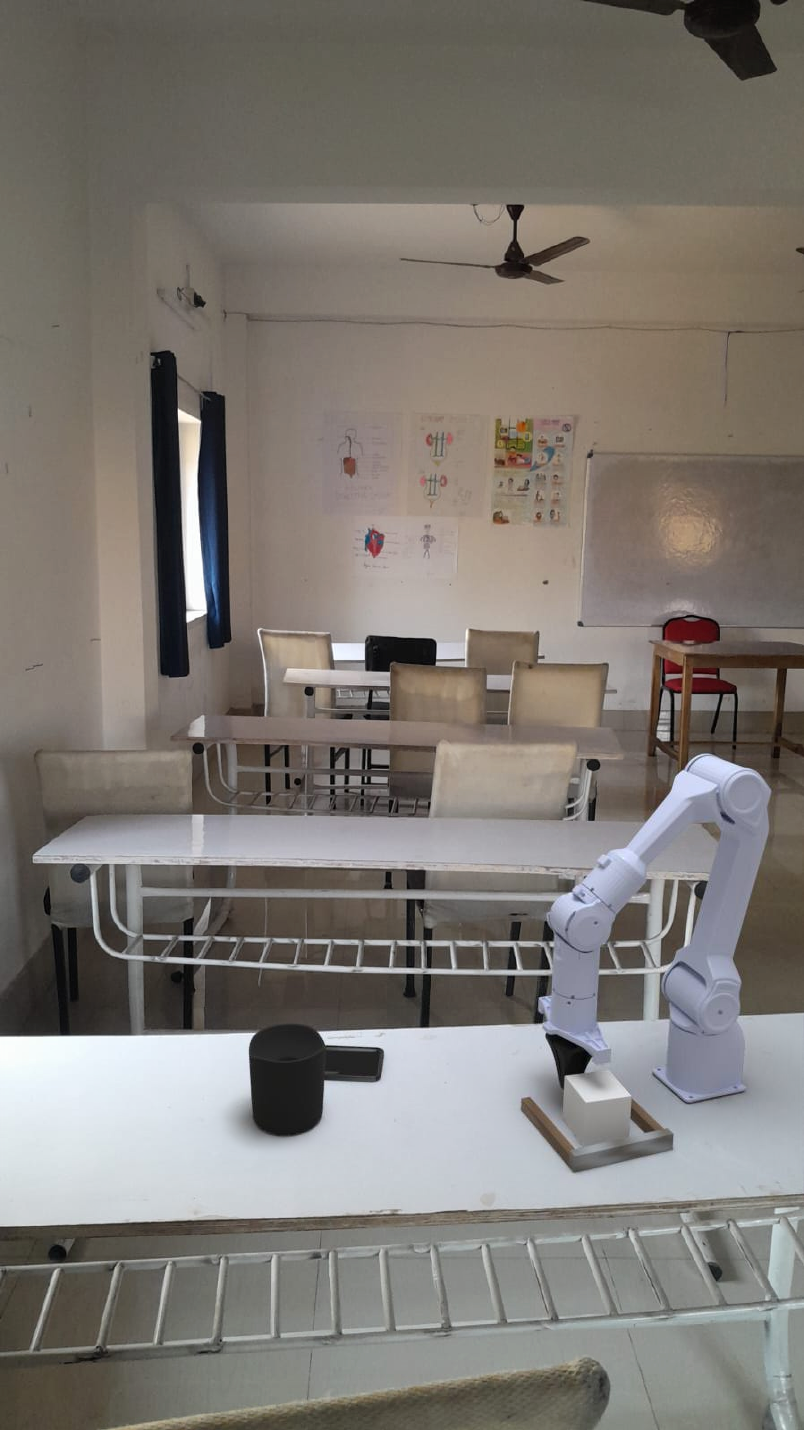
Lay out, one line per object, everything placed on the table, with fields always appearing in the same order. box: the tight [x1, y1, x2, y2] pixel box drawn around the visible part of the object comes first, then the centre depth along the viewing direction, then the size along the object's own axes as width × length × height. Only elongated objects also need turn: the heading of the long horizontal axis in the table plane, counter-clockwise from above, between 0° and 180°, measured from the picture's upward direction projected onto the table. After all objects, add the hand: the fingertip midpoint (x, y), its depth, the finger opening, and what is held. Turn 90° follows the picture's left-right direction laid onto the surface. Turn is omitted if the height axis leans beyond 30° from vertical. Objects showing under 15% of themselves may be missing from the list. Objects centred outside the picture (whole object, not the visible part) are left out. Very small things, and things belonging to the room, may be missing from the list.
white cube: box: [562, 1069, 633, 1148], centre depth 118 cm, size 6×6×6 cm
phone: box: [324, 1044, 385, 1083], centre depth 132 cm, size 8×1×15 cm
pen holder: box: [248, 1023, 327, 1137], centre depth 119 cm, size 9×9×10 cm
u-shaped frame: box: [520, 1096, 675, 1173], centre depth 119 cm, size 13×13×2 cm
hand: (569, 1087), depth 124 cm, fingers closed
